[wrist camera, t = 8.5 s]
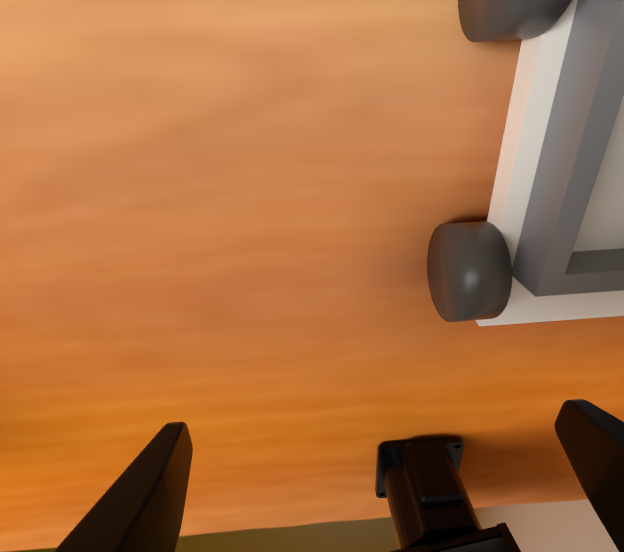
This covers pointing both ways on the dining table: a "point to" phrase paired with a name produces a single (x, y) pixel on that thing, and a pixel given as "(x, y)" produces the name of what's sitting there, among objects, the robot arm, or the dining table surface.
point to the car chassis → (545, 174)
